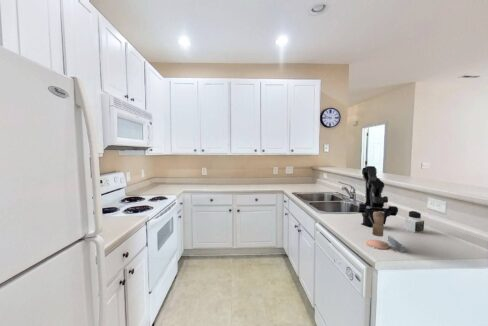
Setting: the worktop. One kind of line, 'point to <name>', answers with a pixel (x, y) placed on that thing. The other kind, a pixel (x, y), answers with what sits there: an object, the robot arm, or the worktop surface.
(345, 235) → the worktop surface
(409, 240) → the worktop surface
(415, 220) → the medicine bottle
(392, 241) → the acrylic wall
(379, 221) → the walnut cylinder
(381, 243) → the resting pad
